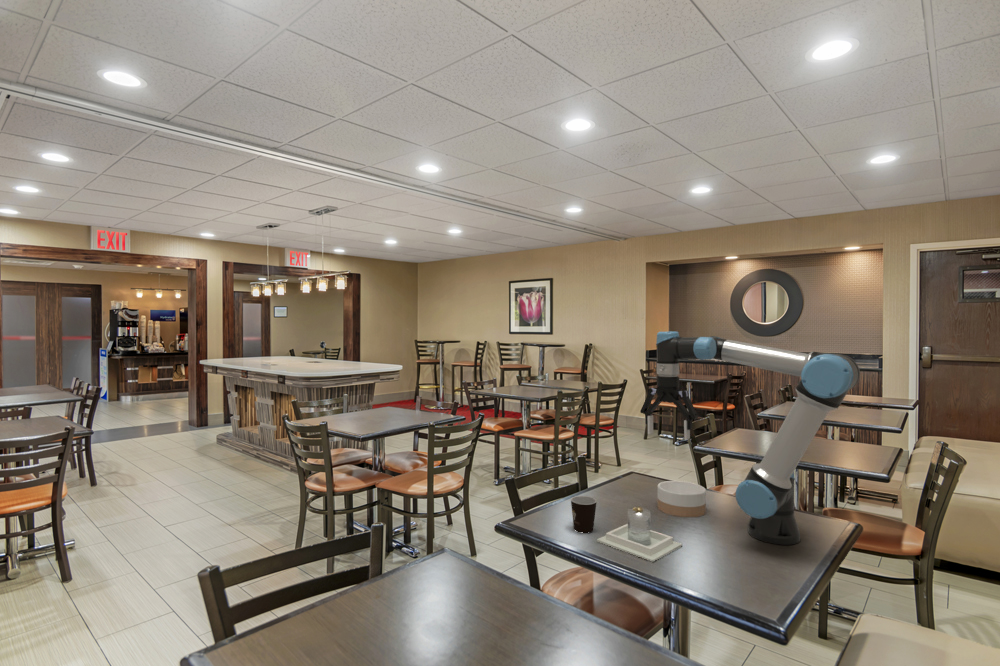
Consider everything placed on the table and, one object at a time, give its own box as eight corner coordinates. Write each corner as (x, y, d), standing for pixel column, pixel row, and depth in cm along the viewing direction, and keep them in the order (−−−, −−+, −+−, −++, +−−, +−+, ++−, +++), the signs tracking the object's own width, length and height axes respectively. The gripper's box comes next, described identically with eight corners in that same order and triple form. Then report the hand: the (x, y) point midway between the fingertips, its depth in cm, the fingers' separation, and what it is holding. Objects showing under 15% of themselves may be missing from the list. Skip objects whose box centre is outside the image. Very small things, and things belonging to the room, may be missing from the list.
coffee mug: (596, 535, 170) (596, 505, 169) (569, 533, 171) (569, 503, 171) (596, 522, 181) (597, 494, 181) (572, 520, 183) (572, 492, 183)
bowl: (654, 500, 205) (654, 479, 204) (699, 502, 202) (699, 481, 202) (661, 516, 188) (661, 493, 187) (711, 518, 185) (711, 495, 185)
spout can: (655, 541, 163) (654, 505, 163) (642, 547, 158) (642, 511, 158) (636, 535, 168) (635, 500, 168) (623, 541, 163) (622, 505, 163)
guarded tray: (682, 546, 161) (682, 537, 161) (652, 563, 150) (652, 553, 150) (627, 528, 176) (627, 519, 176) (596, 541, 165) (596, 533, 165)
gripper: (630, 374, 187) (631, 433, 187) (698, 378, 169) (698, 443, 169) (641, 373, 192) (641, 430, 192) (707, 376, 174) (708, 439, 174)
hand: (668, 436), depth 181 cm, fingers open, 13 cm apart
